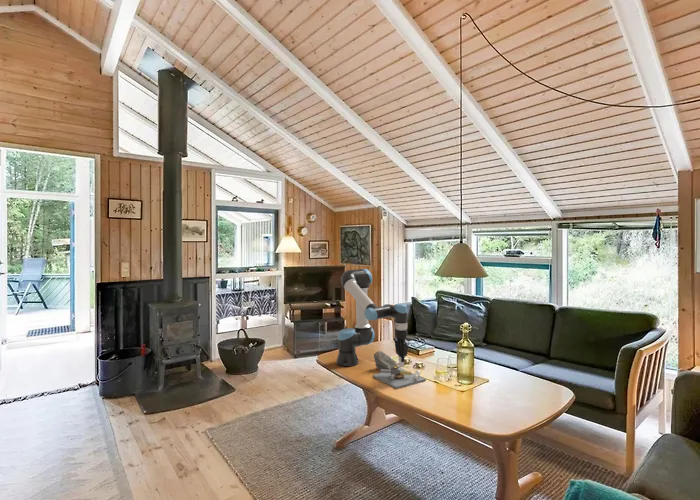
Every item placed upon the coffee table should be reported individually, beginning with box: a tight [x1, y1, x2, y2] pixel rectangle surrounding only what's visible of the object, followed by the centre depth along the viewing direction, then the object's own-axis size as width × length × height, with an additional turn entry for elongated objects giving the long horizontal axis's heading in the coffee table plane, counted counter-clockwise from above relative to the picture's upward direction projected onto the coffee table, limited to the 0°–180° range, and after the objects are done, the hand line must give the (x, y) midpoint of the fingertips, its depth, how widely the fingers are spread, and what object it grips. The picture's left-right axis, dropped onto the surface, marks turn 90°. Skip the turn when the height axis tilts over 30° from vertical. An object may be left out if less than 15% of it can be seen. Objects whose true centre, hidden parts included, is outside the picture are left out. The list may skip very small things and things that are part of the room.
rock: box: [373, 350, 398, 370], centre depth 255 cm, size 12×8×15 cm, turn 37°
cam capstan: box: [379, 365, 412, 379], centre depth 237 cm, size 19×19×6 cm
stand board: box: [372, 367, 427, 390], centre depth 237 cm, size 24×22×6 cm
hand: (401, 366), depth 241 cm, fingers closed
